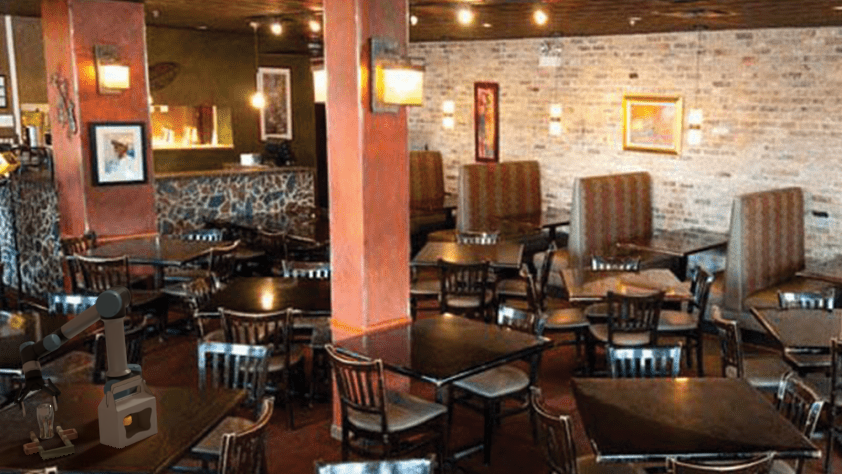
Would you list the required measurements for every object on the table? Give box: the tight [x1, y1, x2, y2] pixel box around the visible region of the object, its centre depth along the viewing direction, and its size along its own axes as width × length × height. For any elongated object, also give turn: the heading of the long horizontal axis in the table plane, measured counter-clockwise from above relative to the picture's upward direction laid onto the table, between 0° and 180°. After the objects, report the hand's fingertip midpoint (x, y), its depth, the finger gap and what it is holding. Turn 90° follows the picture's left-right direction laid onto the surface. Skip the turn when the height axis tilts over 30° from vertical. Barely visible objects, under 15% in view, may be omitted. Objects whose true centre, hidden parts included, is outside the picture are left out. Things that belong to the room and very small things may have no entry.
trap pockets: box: [22, 427, 79, 456], centre depth 378 cm, size 14×23×2 cm, turn 124°
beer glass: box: [36, 402, 55, 440], centre depth 385 cm, size 7×7×15 cm
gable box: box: [97, 375, 158, 450], centre depth 382 cm, size 22×13×28 cm, turn 149°
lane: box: [29, 425, 76, 461], centre depth 376 cm, size 31×13×4 cm, turn 34°
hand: (40, 412), depth 387 cm, fingers open, 13 cm apart
